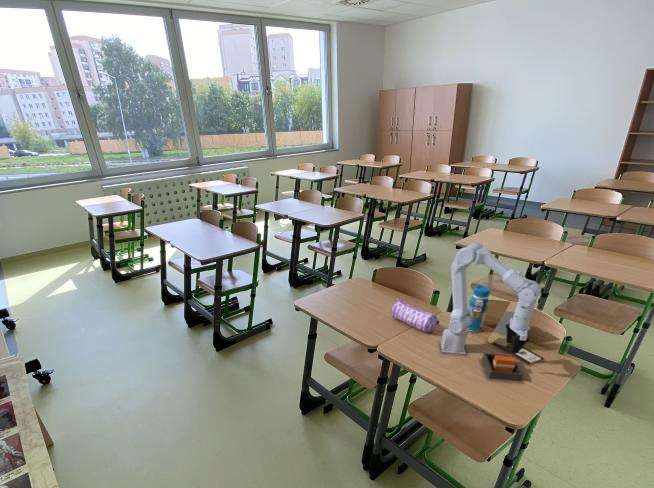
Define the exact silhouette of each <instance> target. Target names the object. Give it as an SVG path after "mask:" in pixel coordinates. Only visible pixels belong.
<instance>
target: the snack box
mask: <svg viewBox="0 0 654 488" xmlns="http://www.w3.org/2000/svg"><path fill="white" fill-rule="evenodd" d="M516 362H517V360H516V357H515V356H514V357H510V356H498V355H495V357H494V360H493V364H492V369H493V371H500V372H511V373H512V372H513V369H514V367H515V364H516Z"/></svg>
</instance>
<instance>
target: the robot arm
mask: <svg viewBox="0 0 654 488" xmlns="http://www.w3.org/2000/svg"><path fill="white" fill-rule="evenodd" d="M471 264H473V265H477V266H479V265H485V266H486V267H487V268H489V269H490V270H492V272H494V273H496V274H497V275H499V276H500V277H501V278H502V283H503V284H504V285H506V287H508V288H509V289H510V290H512V291H513V292H514V293H516V294H517V297H518V301H517V302H516V303H517V306H516V310H515V313H514V316H513V318H511V319H510V324H506V330H507V339H506V342H507V343H513V345H512V353H518V352H519V351H520V350H521V348H522V347H524V346H525V345H526V344H528V343H529V342H530V338H529V337H528V331H531V326H530V321H531V318H532V317H533V313H534V309H535V307H536V303H537V299H538V297H539V296H540V295H541V293H542V288H541V285H540V284H539V283H538V282H537V281H533V280H531V279H528V278H527V277H525V276H524V275H523V274H522V271H521V270H517V269H510V268H509V267H508V266H506V265H505V264H504V263H503V262H502V261H500V260H499V259H498V257H496V256H495V255H493V253H491V252H490V250H489V249H488V248H487V247H486V246H484V245H482V244H481V243H480V242H473V243H470V244H469V245H467V246H466V247H462V248H461V249H460V250H459V251H458V252H456V254H455V258H454V259H453V261H452V264H451V266H450V272H451V274H450V275H451V292H452V309H453V310H452V312H451V314H450V321H449V322H448V328H444V329H443V332H442V336H441V340H440V347H441V351H442V353H445V354H446V353H449V354H450V353H451V354H462V355H466V354H467V352H466V349H465V346H466V342H467V338H468V333H469V331H468V326H470V325H471V324H472V322H473V319H472V316H471V315H470V310H469V309H468V292H467V269H468V267H469V266H471ZM517 334H518V336H516V335H517Z"/></svg>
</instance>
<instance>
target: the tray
mask: <svg viewBox="0 0 654 488" xmlns="http://www.w3.org/2000/svg"><path fill="white" fill-rule="evenodd" d="M495 355H498V356H510V357H514V358H515V356H513V355H511V354H499V353H488V352H483V353H482V357H481V361H482V364H483V367H484V370H485V372H486V375H487V378H488V379H492V380H503V381H513V382H514V381H515V382H522V379H523V376H524V374H523V371H522V370H521V367H520V366H519V363H518V361H516V364H515V367H514V369H513V372H512V373H511V372H500V371H493V369H492V364H493V360H494V357H495Z"/></svg>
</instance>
